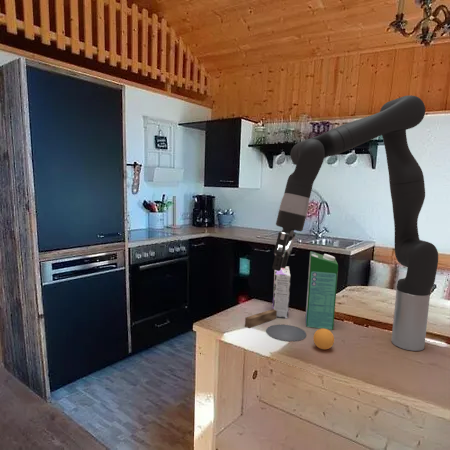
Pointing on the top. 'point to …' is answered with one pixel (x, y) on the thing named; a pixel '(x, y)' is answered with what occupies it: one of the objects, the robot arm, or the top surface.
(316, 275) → the milk carton
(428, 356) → the top surface
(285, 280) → the candy box
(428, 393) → the top surface
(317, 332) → the ball
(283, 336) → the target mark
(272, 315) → the bar
